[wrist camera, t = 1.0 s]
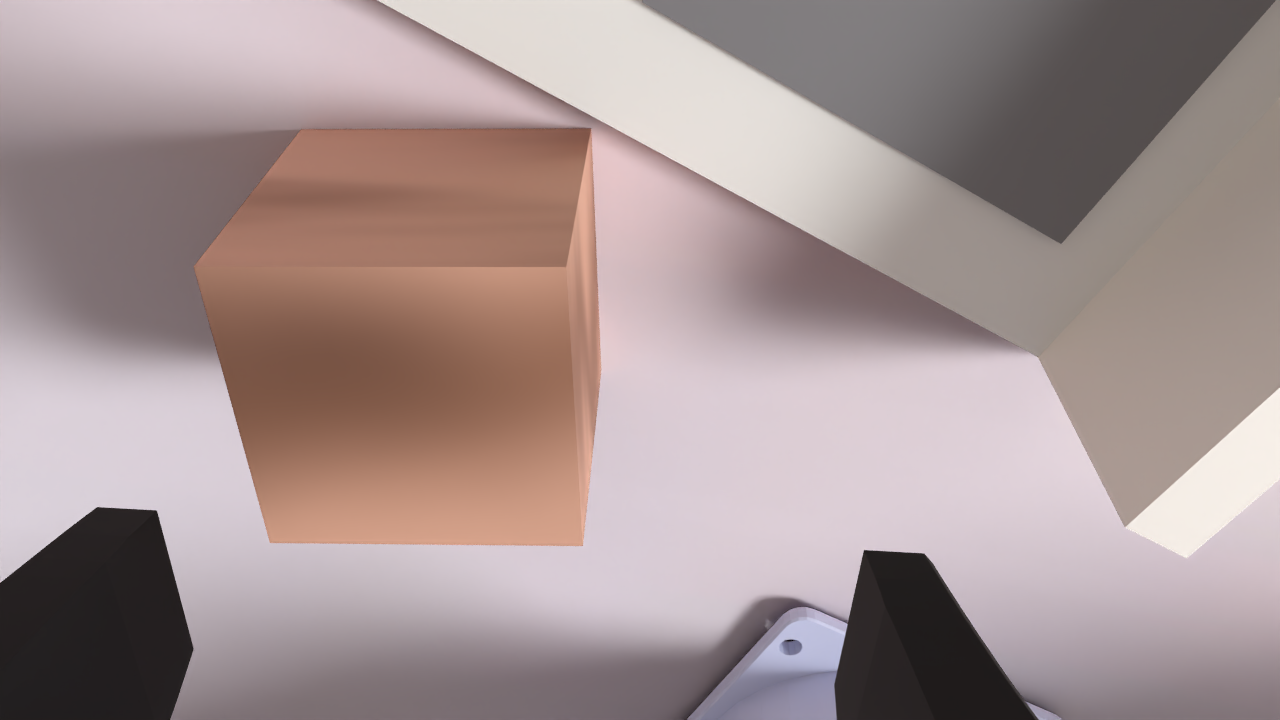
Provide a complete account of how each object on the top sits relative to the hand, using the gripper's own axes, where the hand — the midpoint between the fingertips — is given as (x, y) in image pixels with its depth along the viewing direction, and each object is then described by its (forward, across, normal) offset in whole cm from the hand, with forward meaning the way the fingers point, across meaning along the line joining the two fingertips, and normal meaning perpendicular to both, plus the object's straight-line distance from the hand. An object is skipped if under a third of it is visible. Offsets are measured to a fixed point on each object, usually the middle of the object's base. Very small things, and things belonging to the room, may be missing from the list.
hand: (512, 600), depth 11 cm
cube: (+10, +2, +1) cm, 10 cm away
